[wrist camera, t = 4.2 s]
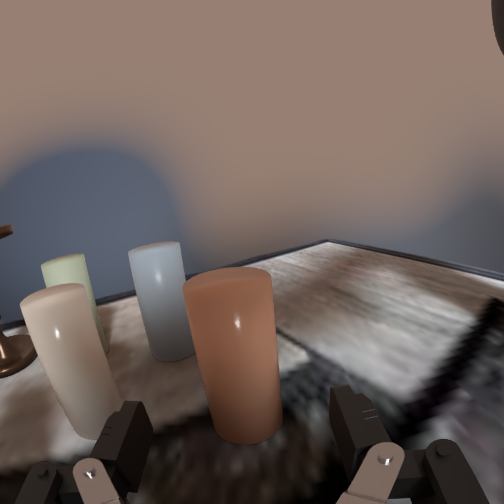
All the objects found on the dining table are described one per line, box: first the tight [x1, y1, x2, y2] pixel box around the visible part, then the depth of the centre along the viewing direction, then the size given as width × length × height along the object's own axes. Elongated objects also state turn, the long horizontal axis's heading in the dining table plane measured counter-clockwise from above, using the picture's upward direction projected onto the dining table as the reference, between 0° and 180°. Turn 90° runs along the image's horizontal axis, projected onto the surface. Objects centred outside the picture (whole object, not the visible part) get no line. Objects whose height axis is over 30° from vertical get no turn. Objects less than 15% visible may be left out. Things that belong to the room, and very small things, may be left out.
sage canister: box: [41, 254, 109, 355], centre depth 27 cm, size 5×5×10 cm
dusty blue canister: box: [128, 242, 195, 362], centre depth 28 cm, size 5×5×10 cm
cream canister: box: [20, 283, 123, 440], centre depth 18 cm, size 5×5×10 cm
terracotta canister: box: [182, 267, 283, 445], centre depth 18 cm, size 5×5×10 cm
